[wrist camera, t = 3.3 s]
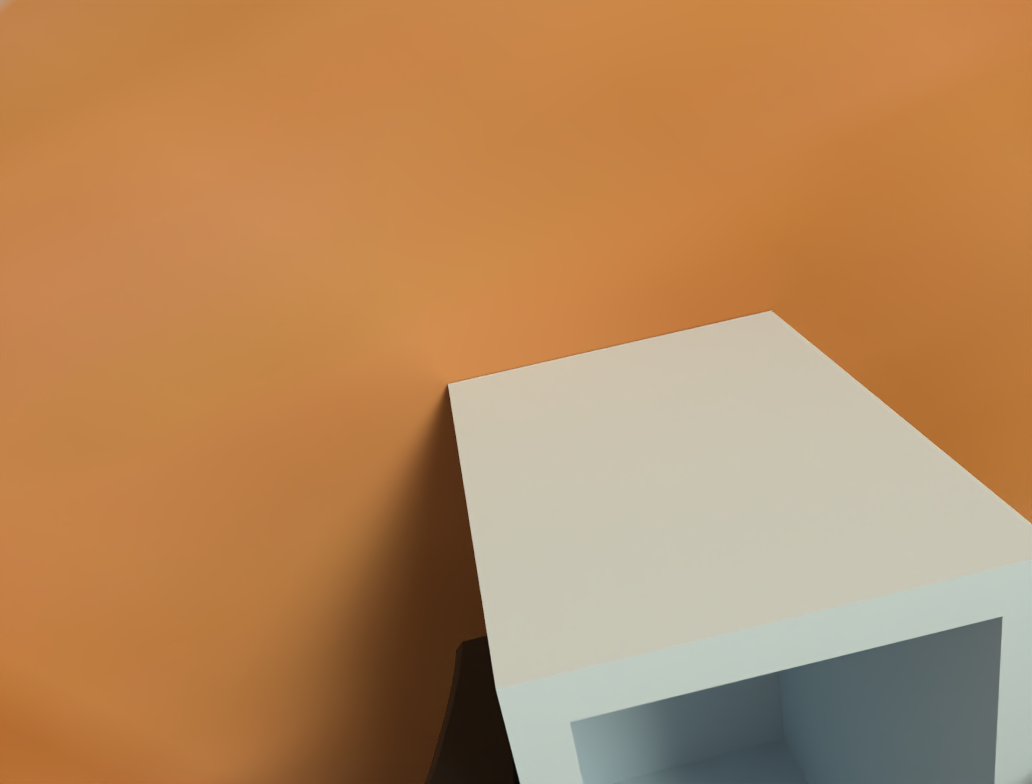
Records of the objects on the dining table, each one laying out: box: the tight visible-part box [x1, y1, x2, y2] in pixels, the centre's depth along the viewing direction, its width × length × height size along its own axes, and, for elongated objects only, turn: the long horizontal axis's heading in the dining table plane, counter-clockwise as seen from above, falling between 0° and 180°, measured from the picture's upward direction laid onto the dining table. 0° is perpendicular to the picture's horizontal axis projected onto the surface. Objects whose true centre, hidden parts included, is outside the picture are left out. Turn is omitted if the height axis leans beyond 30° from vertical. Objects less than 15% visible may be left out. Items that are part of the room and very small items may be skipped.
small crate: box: [448, 311, 1032, 784], centre depth 11 cm, size 8×5×6 cm, turn 11°
